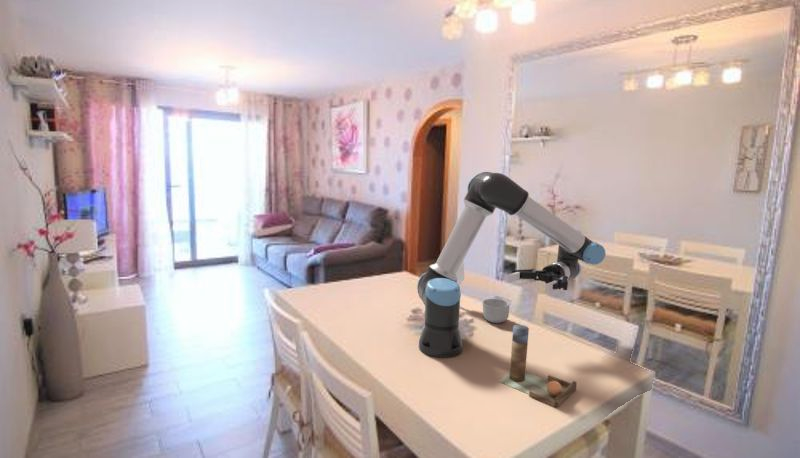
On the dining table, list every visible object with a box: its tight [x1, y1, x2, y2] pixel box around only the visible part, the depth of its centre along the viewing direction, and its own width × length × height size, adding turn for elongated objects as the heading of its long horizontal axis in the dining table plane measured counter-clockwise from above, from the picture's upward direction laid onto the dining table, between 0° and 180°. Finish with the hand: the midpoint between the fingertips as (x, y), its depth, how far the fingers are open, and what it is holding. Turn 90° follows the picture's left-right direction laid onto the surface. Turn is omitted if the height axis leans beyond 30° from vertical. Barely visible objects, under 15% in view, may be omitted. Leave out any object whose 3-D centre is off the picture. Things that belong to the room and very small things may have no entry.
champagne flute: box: [456, 259, 465, 309], centre depth 187 cm, size 7×7×24 cm
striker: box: [509, 324, 530, 382], centre depth 124 cm, size 4×4×16 cm
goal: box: [498, 371, 578, 409], centre depth 121 cm, size 18×13×2 cm
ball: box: [547, 381, 562, 396], centre depth 116 cm, size 4×4×4 cm
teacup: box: [482, 297, 510, 324], centre depth 173 cm, size 14×11×8 cm
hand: (527, 283), depth 138 cm, fingers open, 13 cm apart
